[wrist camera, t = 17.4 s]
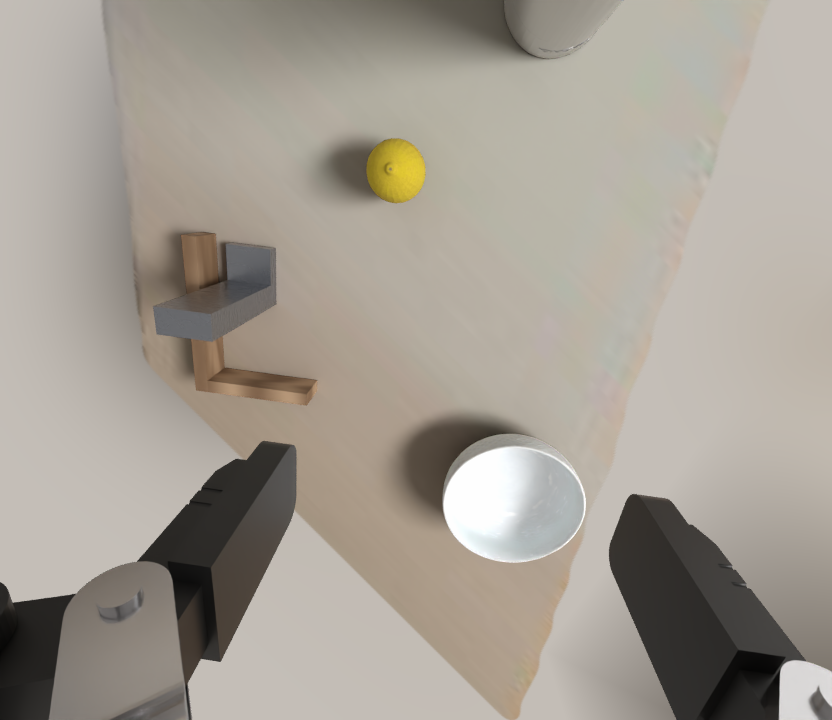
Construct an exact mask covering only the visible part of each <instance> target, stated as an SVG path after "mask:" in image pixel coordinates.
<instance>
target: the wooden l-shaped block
mask: <svg viewBox="0 0 832 720" xmlns="http://www.w3.org/2000/svg"><path fill="white" fill-rule="evenodd" d="M181 241H182V251H183V261H184V271H185V282H186V292H187V294H190V293H192V292H195V291H198V290H201V289H204V288H207V287H209V286H212V285H215V284H218V283H219V277H218V262H217V247H216V234H214V233H206V232H200V233H192V234H184V235H181ZM191 343H192V354H193V364H194V374H195V384H196V390H198V391H205V392H212V393H219V394H227V395H234V396H241V397H249V398H256V399H263V400H270V401H278V402H285V403H292V404H299V405H307V404H308V403H309V401H310V400H311V399H312V397H313V396H314V394H315V393H316V391H317V380H311V379H303V378H296V377H288V376H281V375H274V374H266V373H259V372H252V371H244V370H237V369H230V368H225V366H224V351H223V336H222V337H220V338H218V339H217V340H215V341H213V342H210V341H203V340H195V339H191Z"/></svg>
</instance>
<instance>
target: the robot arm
mask: <svg viewBox="0 0 832 720" xmlns="http://www.w3.org/2000/svg"><path fill="white" fill-rule="evenodd" d="M623 1H624V0H504V10H505V17H506V21H507V25H508V28H509V30H510V32H511V34H512V36H513V38H514V39H515V40H516V42H517V43H518V44H519V46H521V47H522V48H523V49H524V50H525V51H527V52H528V53H530V54H532V55H535V56H537V57H542V58H547V59H549V58H559V57H562V56H565V55H569V54H571V53H572V52H574V51H576V50H578V49H579V48H581V47H582V46H583V45H584V44H585V43H586V42H587V41H589V40H590V38H591V37H592V36H593V35H594V34H595V33H596V31H597V30H598V29H599V28H600V27H601V26H602V25H603V23H604V22H605V21H606V20H607V19H608V18H609V17H610V16H611V14H612V13H613V12H614V11H615V10H616V9H617V7H618V6H619V5H620V4H621V3H622V2H623ZM295 503H296V448H295V446H294V445H289V444H282V443H275V442H268V441H262V442H261V443H260V444H259V445H258V446H257V448H256V449H255V450H254V451H253V453H252V454H251V455H250V457H249V458H248V459H247V460H240V459H235V460H233V461H232V462H230V463H228V464H227V465H225V466H223V467H222V468H220V469H218V470H217V471H215V473H214V474H213V475H212V476H211V477H210V478H209V480H207V482H206V483H205V484H204V485H203V486H202V489H201V491H198V492H197V493H196V494H195V495H194V497H193V498H192V499H191V500H190V503H189V505H188V504H187V505H186V506H185V507H184V508H183V509H182V510H181V512H180V513H179V514H178V515H177V516H176V517H175V519H174V520H173V521H172V522H171V523H170V524H169V525H168V527H167V528H166V529H165V530H164V531H163V532H162V534H161V535H160V536H159V537H158V538H157V539H156V540H155V542H154V543H153V544H152V545H151V546H150V547H149V548H148V550H147V551H146V552H145V553H144V554H143V555H142V556H141V558H140V559H139V560H138V561H137V562H132V563H128V564H124V565H120V566H118V567H115V568H112V569H110V570H108V571H106V572H104V573H102V574H100V575H99V576H97V577H95V578H94V579H92V580H91V581H90V582H88V583H87V584H86V585H85V586H84V587H82V588H81V589H80V590H79V591H78V593H77V594H72V595H66V596H59V597H52V598H44V599H38V600H30V601H23V602H15V603H12V600H11V597H10V594H9V592H8V589H7V588H6V586H5V585H4V584H2V583H0V720H192V715H191V706H190V698H189V689H188V681H189V680H190V678H191V676H192V674H193V672H194V670H195V669H196V667H197V665H198V663H199V661H200V659H206V660H212V661H218V662H221V660H222V658H223V656H224V654H225V652H226V650H227V648H228V646H229V644H230V642H231V640H232V638H233V636H234V634H235V632H236V630H237V628H238V626H239V624H240V622H241V620H242V618H243V616H244V614H245V612H246V610H247V608H248V605H249V604H250V602H251V600H252V598H253V596H254V594H255V592H256V589H257V588H258V586H259V584H260V582H261V580H262V578H263V576H264V574H265V572H266V570H267V568H268V566H269V564H270V562H271V560H272V558H273V555H274V554H275V552H276V550H277V547H278V545H279V544H280V541H281V540H282V537H283V536H284V533H285V532H286V530H287V527H288V526H289V523H290V521H291V519H292V516H293V512H294V508H295ZM609 561H610V567H611V570H612V573H613V575H614V578H615V580H616V582H617V584H618V587H619V589H620V591H621V594H622V596H623V598H624V600H625V602H626V605H627V607H628V610H629V612H630V614H631V617H632V619H633V621H634V623H635V626H636V628H637V630H638V633H639V635H640V637H641V639H642V641H643V644H644V646H645V649H646V651H647V653H648V655H649V658H650V660H651V662H652V665H653V667H654V669H655V671H656V674H657V676H658V678H659V681H660V683H661V685H662V687H663V690H664V692H665V694H666V697H667V699H668V701H669V704H670V706H671V708H672V710H673V713H674V715H675V717H676V719H677V720H832V672H831V671H829V670H827V669H825V668H823V667H820V666H818V665H815V664H813V663H809V662H807V661H806V660H805V659H804V658H803V656H802V655H801V654H800V652H799V651H798V650H797V649H796V647H795V646H794V645H793V644H792V642H791V641H790V640H789V638H788V637H787V636H786V634H785V633H784V632H783V630H782V629H781V628H780V627H779V625H778V624H777V623H776V621H775V620H774V619H773V618H772V616H771V615H770V614H769V612H768V611H767V610H766V608H765V607H764V606H763V605H762V603H761V602H760V601H759V600H758V598H757V597H756V596H755V594H754V593H753V592H752V590H751V589H749V588H747V587H746V583H745V581H744V580H743V579H742V577H741V576H740V575H739V574H738V572H737V571H736V570H733V569H732V565H731V563H730V562H729V561H728V560H727V558H726V557H725V556H724V554H723V553H722V552H721V551H720V549H719V548H718V546H717V545H716V544H715V543H714V542H712V541H711V540H710V539H709V538H708V537H706V536H705V535H704V534H703V533H702V532H700V531H699V530H698V529H697V528H696V527H694V526H693V525H689V524H688V523H687V522H686V520H685V519H684V518H683V516H682V515H681V514H680V512H679V511H678V510H677V508H676V507H675V505H674V504H673V503H672V502H671V501H670V500H668V499H665V498H658V497H651V496H644V495H637V494H632V495H630V496H629V497H628V499H627V501H626V503H625V506H624V508H623V511H622V514H621V516H620V519H619V522H618V524H617V527H616V530H615V532H614V535H613V537H612V540H611V543H610V547H609Z"/></svg>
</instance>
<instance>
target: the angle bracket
mask: <svg viewBox="0 0 832 720" xmlns="http://www.w3.org/2000/svg"><path fill="white" fill-rule="evenodd" d="M226 260H227V278H228V280H226V281H223V282H221V283H218V284H215V285H212V286H209V287H207V288H204V289H201V290H198V291H195V292H192V293H190V294H187V295H184V296H181V297H178V298H175V299H173V300H170V301H167V302H164V303H161V304H159V305H156V306H153V309H154V317H155V325H156V333H157V334H159V335H166V336H174V337H181V338H188V339H195V340H203V341H210V342H213V341H215V340H217V339H218V338H220V337H222V336H223V335H225V334H227V333H228V332H230V331H232V330H233V329H235V328H237V327H238V326H240V325H242V324H244V323H245V322H247V321H249V320H250V319H252V318H254V317H255V316H257V315H259V314H260V313H262V312H264V311H266V310H267V309H269V308H271V307H272V306H274V305H276V248H271V247H263V246H255V245H248V244H240V243H227V244H226Z"/></svg>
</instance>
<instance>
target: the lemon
mask: <svg viewBox="0 0 832 720" xmlns="http://www.w3.org/2000/svg"><path fill="white" fill-rule="evenodd" d="M366 173H367V178H368V182H369V184H370V186H371V188H372V190H373V191H374V192H375V193H376V195H378V196H379V197H380V198H381V199H383V200H385V201H388V202H392V203H403V202H406V201H408V200H410V199H412V198H413V197H414V196H416V195H417V193H418V192H419V191H420V190H421V188H422V185H423V183H424V179H425V164H424V160H423V157H422V156H421V154H420V152H419V151H418V149H417V148H416V147H415V146H414V145H412V144H411V143H409V142H408V141H406V140H402V139H388V140H384V141H383V142H381V143H380V144H378V145H377V146H376V147H375V148H374V149H373V150H372V152H371V154H370V156H369V158H368V162H367V170H366Z"/></svg>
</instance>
